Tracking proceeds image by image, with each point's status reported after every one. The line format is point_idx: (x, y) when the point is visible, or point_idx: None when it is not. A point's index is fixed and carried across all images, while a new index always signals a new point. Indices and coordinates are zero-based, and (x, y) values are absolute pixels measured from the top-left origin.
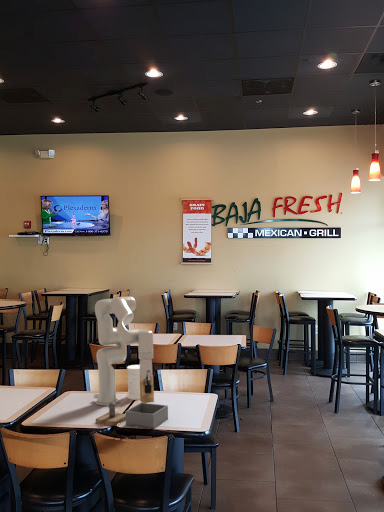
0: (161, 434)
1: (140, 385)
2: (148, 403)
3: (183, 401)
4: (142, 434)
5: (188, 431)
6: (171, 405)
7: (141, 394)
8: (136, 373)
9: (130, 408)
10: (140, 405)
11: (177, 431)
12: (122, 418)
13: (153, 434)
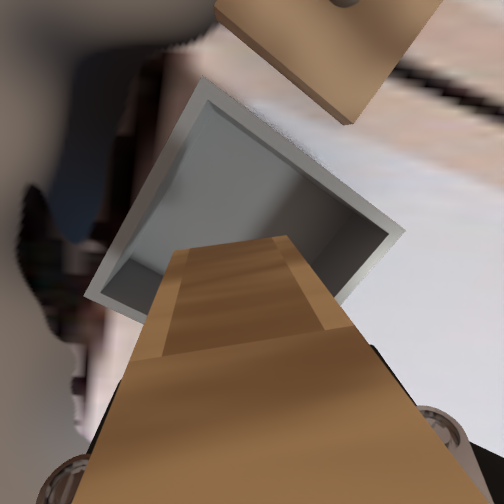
0: (39, 286)
1: (292, 337)
2: (359, 280)
3: (486, 404)
4: (37, 191)
5: (80, 391)
6: (458, 358)
7: (215, 278)
8: None
9: (274, 131)
10: (370, 220)
11: (82, 353)
12: (288, 70)
13: (38, 249)
